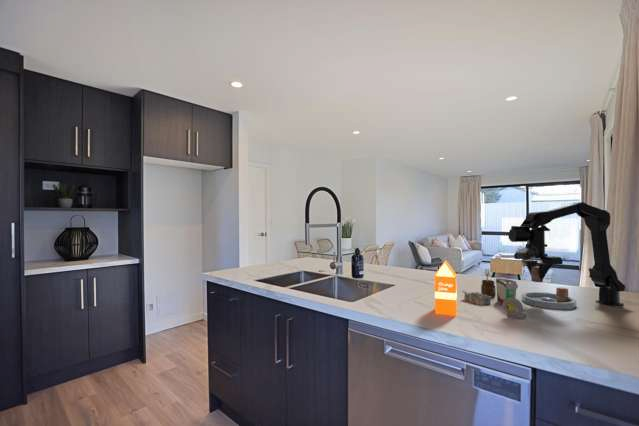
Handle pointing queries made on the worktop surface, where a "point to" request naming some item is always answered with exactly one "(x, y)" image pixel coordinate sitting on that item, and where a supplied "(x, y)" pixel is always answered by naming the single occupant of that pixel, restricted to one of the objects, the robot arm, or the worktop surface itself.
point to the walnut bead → (535, 274)
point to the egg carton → (477, 298)
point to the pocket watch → (513, 307)
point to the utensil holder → (488, 286)
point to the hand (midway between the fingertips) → (537, 278)
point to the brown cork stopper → (561, 294)
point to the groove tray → (547, 300)
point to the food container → (505, 289)
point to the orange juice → (445, 291)
